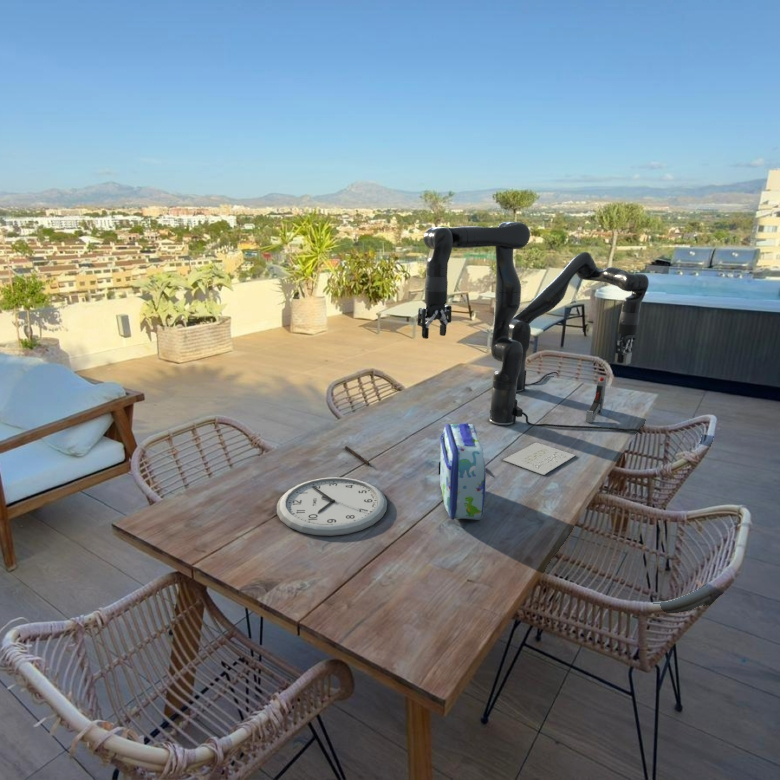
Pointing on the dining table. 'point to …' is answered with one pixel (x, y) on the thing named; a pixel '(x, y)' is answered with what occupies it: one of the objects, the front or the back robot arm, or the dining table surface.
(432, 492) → the dining table surface
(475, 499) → the lunch box
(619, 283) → the back robot arm
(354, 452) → the brown thin stick
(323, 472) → the dining table surface
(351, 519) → the wall clock
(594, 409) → the toy gun
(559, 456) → the invitation card
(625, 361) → the block
